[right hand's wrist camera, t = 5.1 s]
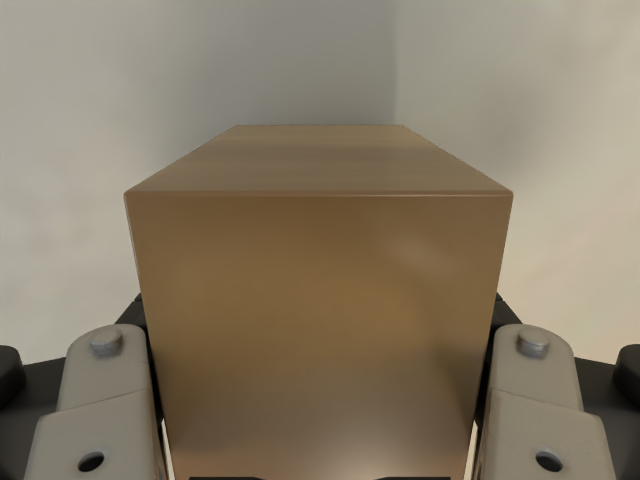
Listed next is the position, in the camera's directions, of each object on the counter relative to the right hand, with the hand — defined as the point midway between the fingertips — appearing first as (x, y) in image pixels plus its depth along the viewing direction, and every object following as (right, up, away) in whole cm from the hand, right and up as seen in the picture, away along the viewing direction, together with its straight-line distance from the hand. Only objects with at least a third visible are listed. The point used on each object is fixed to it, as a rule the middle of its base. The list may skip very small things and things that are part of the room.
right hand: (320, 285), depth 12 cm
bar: (0, -7, +7) cm, 10 cm away
